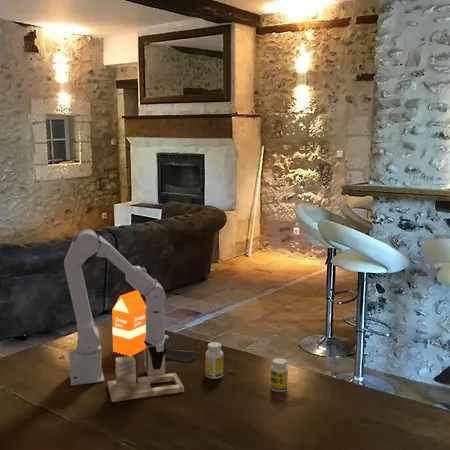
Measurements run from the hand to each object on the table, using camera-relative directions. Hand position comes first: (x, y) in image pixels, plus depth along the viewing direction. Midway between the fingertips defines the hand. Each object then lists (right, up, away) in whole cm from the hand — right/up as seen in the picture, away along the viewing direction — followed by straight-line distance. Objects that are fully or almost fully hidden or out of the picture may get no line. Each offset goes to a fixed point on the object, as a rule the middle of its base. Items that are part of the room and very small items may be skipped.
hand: (155, 366), depth 166 cm
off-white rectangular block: (0, -2, 0) cm, 2 cm away
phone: (+4, -1, +14) cm, 15 cm away
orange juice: (-11, +1, +18) cm, 21 cm away
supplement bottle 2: (+37, -4, -10) cm, 38 cm away
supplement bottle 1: (+18, -3, -1) cm, 18 cm away
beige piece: (-1, -4, -11) cm, 12 cm away
